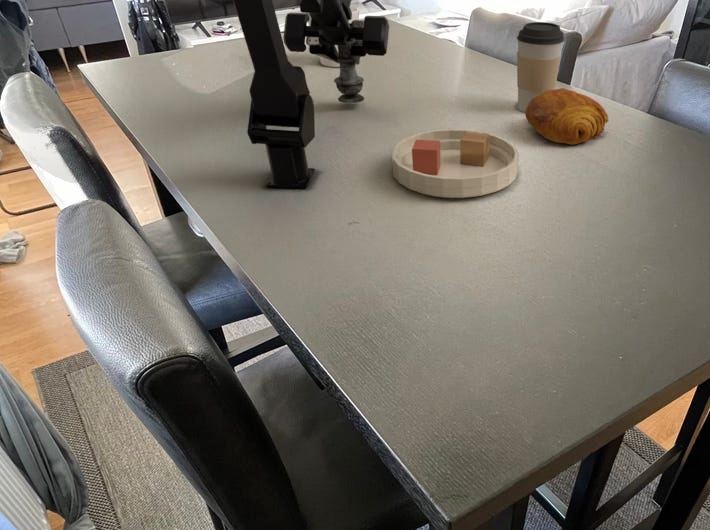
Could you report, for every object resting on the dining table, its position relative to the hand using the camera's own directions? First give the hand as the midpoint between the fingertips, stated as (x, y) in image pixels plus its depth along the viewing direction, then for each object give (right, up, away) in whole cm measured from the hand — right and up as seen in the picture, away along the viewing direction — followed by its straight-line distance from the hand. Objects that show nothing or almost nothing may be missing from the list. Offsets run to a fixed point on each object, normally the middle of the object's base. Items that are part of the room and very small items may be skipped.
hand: (348, 61), depth 115 cm
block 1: (+17, -28, -19) cm, 38 cm away
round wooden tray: (+21, -29, -19) cm, 40 cm away
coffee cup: (+37, -7, +5) cm, 38 cm away
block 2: (+24, -26, -16) cm, 39 cm away
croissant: (+42, -16, -4) cm, 45 cm away
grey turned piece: (0, -6, +4) cm, 7 cm away
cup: (-8, +15, +28) cm, 33 cm away
